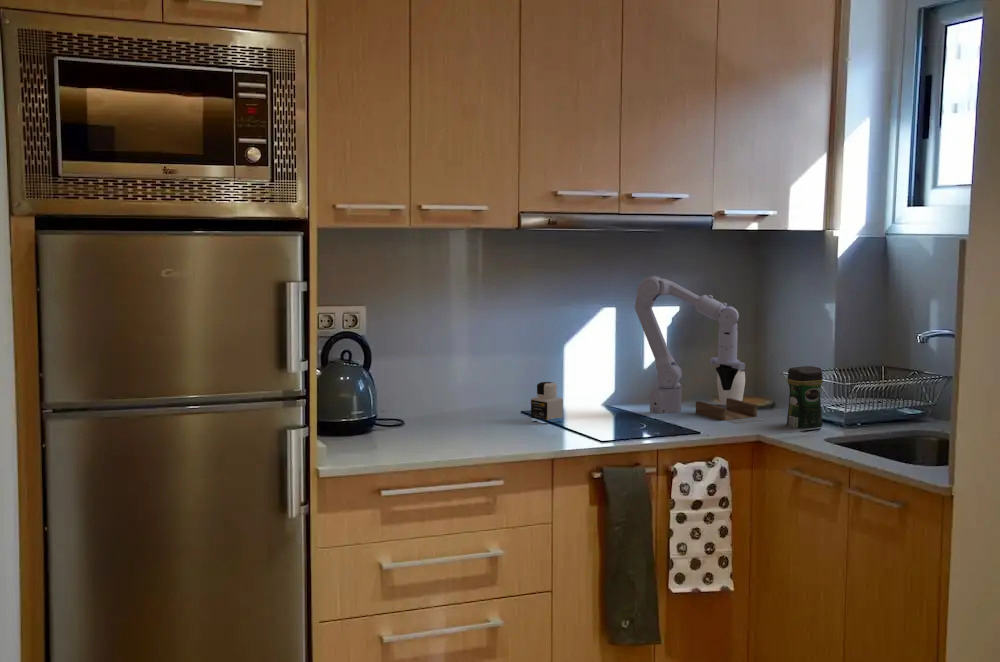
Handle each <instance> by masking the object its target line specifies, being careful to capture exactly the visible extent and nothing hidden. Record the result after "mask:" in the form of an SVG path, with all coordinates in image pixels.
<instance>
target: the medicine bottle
mask: <svg viewBox="0 0 1000 662" xmlns="http://www.w3.org/2000/svg"><path fill="white" fill-rule="evenodd" d="M557 389H558V385H557V384H556V383H555V382H552V381H541V382H539V383H537V385H536V396H537V397H531V398H530V419H531V418H537V419H544V420H549V419H555V418H562V417H563V418H564V399H563V398H561V397H557V393H558V392H557V391H558V390H557Z"/></svg>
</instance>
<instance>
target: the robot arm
mask: <svg viewBox="0 0 1000 662" xmlns="http://www.w3.org/2000/svg"><path fill="white" fill-rule="evenodd" d="M636 289H637V290H636V296H635V297H636V299H635V304H634V310H635V312H636V315H637V317H638V320H639V322H640V325H641V328H642V330H643V333H644V335H645V338H646V340H647V342H648V345H649V347H650V350H651V353H652V355H653V357H654V361H655V367H656V370H657V381H658V385H657V387H655V388H653V389H651V391H650V394H649V413H656V414H659V415H663V414H677V413H681V412H682V384H681V383H680V380H681V379H682V377H683V371H682V368H681V367H680V366H679V365H678V364H677V363H676V361H675V359H674V357H673V356H672V354H671V353H670V350H669V347H668V346H667V343H666V341H665V338H664V335H663V332H662V330H661V328H660V326H659V323H658V321H657V318H656V315H655V313H654V310H653V307H654V304H655V302H656V301H657V299H658V298H659V297H660V296H673V297H675V298H678V299H680V300H682V301H684V302H686V303H688V304H690V305H692V306H694V307H695V310H696V312H697V313H700V314H702V315H703V316H705V317H707V318H710V319H711V320H713V321H717V322H718V324H719V325H718V326H719V327H718V329H719V330H718V339H717V340H718V343H717V345H718V347H717V348H718V349H717V357H713V356H712V357H709V358H710V360H709V361H710V365H718V366H715V371H716V373H718V374H719V377H720V380H721V384H722V388H723V390H731V387H732V383H733V380H734V378H735V375H736V374H737V372H738V371H739V370H741V371H744V370H745V369H746V362H745V363H744V362H742V361H740V360H739V359H738V337H739V336H738V334H739V332H738V323H737V322H738V320H739V319H740V318H739V317H740V314H739V312H738V310H737V309H736V308H735V307H734V306H732V305H728V303H726V302H723V303H722V302H721V301H719V300H717V299H715V298H714V296H713V295H711V294H709V295H707V294H703V295H697V294H695V293H694V292H693V291H690V290H688V289H687V288H684V287H683V286H682V285H679V284H677V283H675V282H674V281H671V280H669V279H667V278H662V277H661V276H658V275H651V276H647V277H645V278H644V279H642V280H641V282H640V283H639V285H638V287H637V288H636Z"/></svg>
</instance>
